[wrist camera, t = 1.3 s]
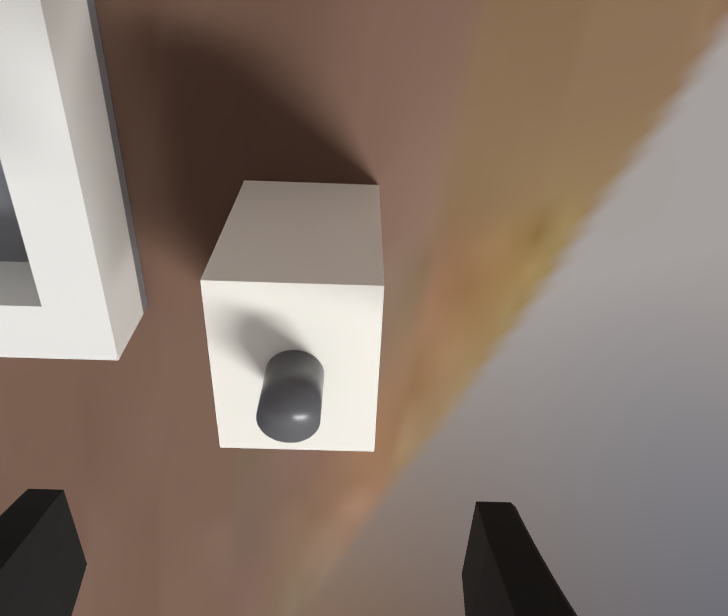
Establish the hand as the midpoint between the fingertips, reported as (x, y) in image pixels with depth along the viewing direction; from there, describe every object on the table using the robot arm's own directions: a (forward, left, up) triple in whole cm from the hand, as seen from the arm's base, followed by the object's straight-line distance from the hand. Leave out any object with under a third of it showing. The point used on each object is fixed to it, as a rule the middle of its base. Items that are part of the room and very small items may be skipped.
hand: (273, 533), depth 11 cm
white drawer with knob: (0, 0, -10) cm, 10 cm away
